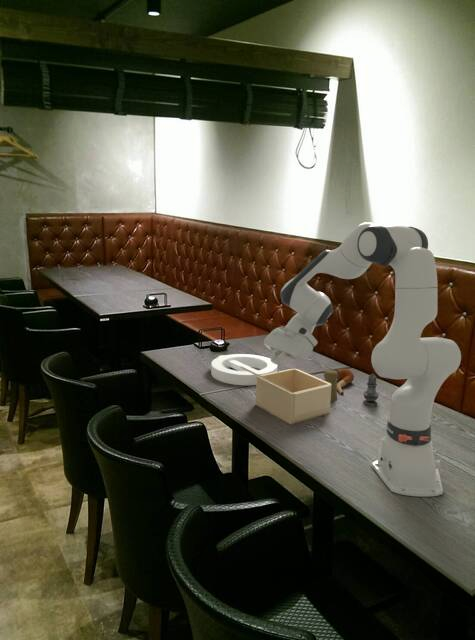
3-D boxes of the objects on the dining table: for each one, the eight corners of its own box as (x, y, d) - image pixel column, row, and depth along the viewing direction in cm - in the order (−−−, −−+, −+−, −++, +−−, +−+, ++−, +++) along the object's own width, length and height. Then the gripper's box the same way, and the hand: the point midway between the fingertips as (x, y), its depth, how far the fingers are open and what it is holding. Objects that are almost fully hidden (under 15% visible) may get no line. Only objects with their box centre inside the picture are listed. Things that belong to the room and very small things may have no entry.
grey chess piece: (378, 406, 209) (381, 375, 206) (362, 404, 210) (365, 374, 207) (378, 400, 214) (380, 370, 211) (362, 399, 215) (364, 369, 212)
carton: (293, 394, 218) (295, 367, 215) (331, 413, 201) (333, 384, 198) (254, 404, 207) (255, 376, 205) (291, 425, 190) (293, 394, 188)
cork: (319, 399, 214) (320, 371, 211) (324, 394, 219) (326, 367, 217) (334, 402, 211) (336, 374, 209) (339, 397, 216) (341, 370, 214)
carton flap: (258, 374, 203) (241, 366, 198) (290, 390, 189) (272, 381, 184) (257, 376, 203) (240, 367, 198) (289, 391, 189) (271, 383, 183)
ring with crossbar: (273, 388, 225) (274, 377, 224) (205, 383, 229) (205, 371, 228) (279, 366, 252) (280, 356, 251) (218, 362, 256) (218, 352, 255)
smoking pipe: (353, 380, 236) (354, 367, 235) (354, 396, 218) (356, 382, 217) (335, 379, 237) (336, 366, 236) (336, 394, 219) (337, 380, 218)
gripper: (273, 320, 204) (251, 350, 201) (312, 333, 187) (287, 365, 184) (282, 330, 207) (260, 360, 204) (321, 344, 191) (297, 376, 188)
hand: (274, 362), depth 194 cm, fingers closed
